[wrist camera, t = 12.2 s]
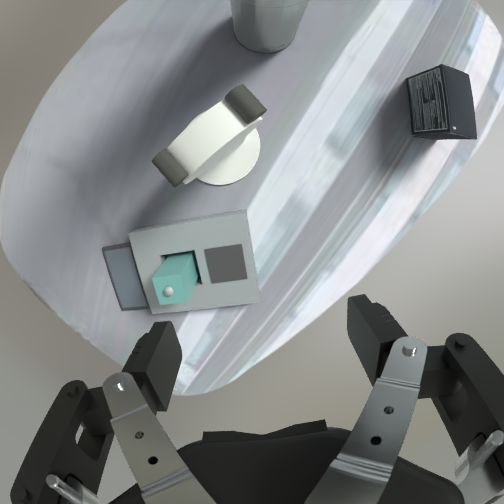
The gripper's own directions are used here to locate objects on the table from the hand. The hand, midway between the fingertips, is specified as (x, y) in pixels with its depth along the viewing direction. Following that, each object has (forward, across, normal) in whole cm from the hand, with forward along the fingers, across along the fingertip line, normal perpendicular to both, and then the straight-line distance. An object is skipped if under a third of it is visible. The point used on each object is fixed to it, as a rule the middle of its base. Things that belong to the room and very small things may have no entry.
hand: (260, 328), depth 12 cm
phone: (+31, +23, +8) cm, 39 cm away
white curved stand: (+30, +3, -10) cm, 32 cm away
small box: (+30, -31, -14) cm, 46 cm away
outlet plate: (+30, +10, +7) cm, 32 cm away
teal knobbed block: (+30, +12, +7) cm, 33 cm away
